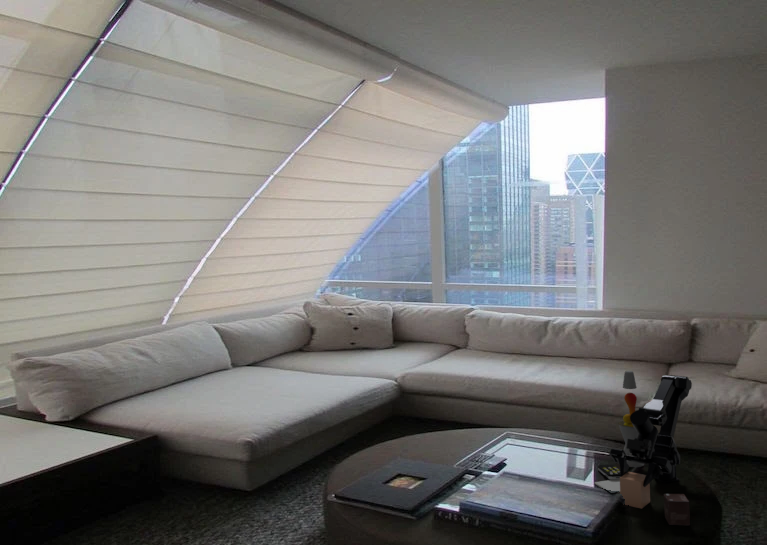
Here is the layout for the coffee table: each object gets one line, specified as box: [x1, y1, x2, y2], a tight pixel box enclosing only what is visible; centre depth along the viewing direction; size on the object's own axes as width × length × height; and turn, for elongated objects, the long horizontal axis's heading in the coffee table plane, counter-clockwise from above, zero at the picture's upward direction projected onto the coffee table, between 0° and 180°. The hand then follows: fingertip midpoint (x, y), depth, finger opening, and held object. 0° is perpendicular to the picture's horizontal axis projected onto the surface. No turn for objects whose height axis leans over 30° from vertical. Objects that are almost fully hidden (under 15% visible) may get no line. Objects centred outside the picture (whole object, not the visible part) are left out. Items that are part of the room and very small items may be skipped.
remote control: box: [597, 463, 621, 480], centre depth 237 cm, size 6×13×2 cm, turn 2°
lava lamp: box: [618, 370, 645, 468], centre depth 247 cm, size 9×9×35 cm
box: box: [663, 493, 691, 526], centre depth 197 cm, size 6×6×7 cm
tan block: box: [619, 471, 651, 509], centre depth 212 cm, size 7×7×8 cm
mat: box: [593, 479, 620, 492], centre depth 226 cm, size 10×10×1 cm
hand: (632, 483), depth 210 cm, fingers closed on tan block, 7 cm apart
